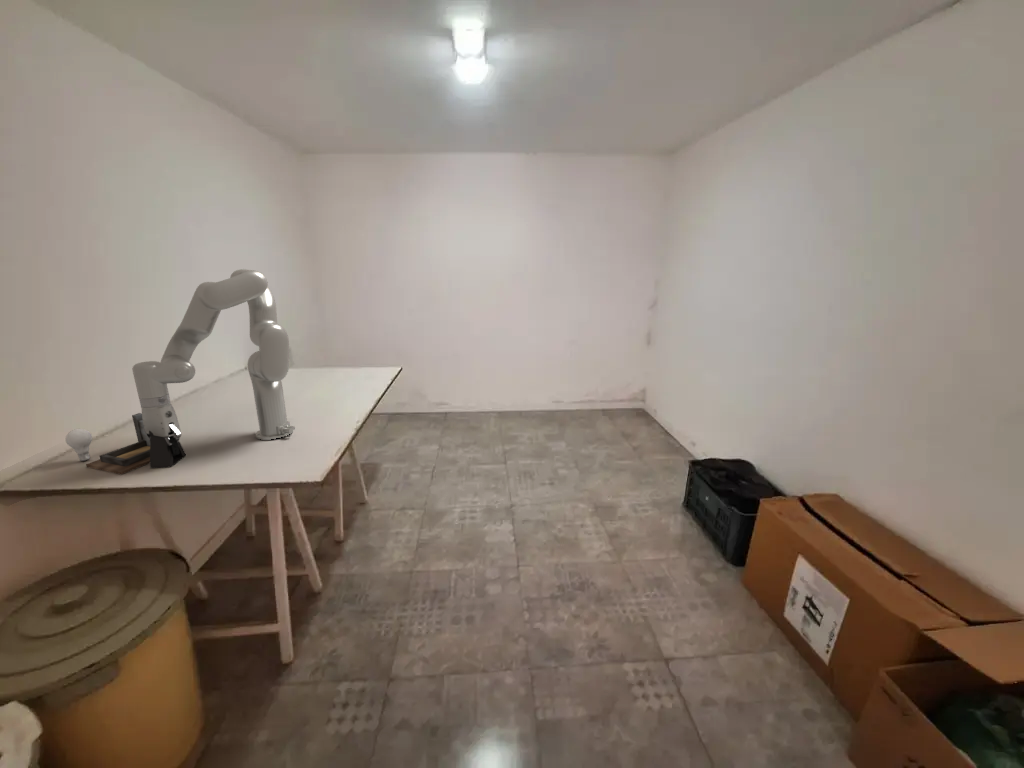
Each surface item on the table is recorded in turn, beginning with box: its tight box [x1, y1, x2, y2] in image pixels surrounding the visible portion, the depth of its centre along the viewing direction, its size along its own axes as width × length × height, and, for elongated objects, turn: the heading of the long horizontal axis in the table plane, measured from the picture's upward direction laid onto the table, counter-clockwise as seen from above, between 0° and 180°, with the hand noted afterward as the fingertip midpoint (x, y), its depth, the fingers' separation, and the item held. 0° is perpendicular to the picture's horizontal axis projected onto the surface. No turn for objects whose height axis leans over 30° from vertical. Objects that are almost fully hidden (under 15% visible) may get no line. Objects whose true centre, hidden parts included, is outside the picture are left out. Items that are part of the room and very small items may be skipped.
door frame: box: [86, 412, 150, 476], centre depth 152 cm, size 16×18×12 cm
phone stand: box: [149, 431, 187, 469], centre depth 150 cm, size 9×6×12 cm, turn 5°
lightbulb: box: [65, 428, 93, 462], centre depth 151 cm, size 6×6×11 cm
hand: (166, 453), depth 151 cm, fingers closed on phone stand, 6 cm apart
